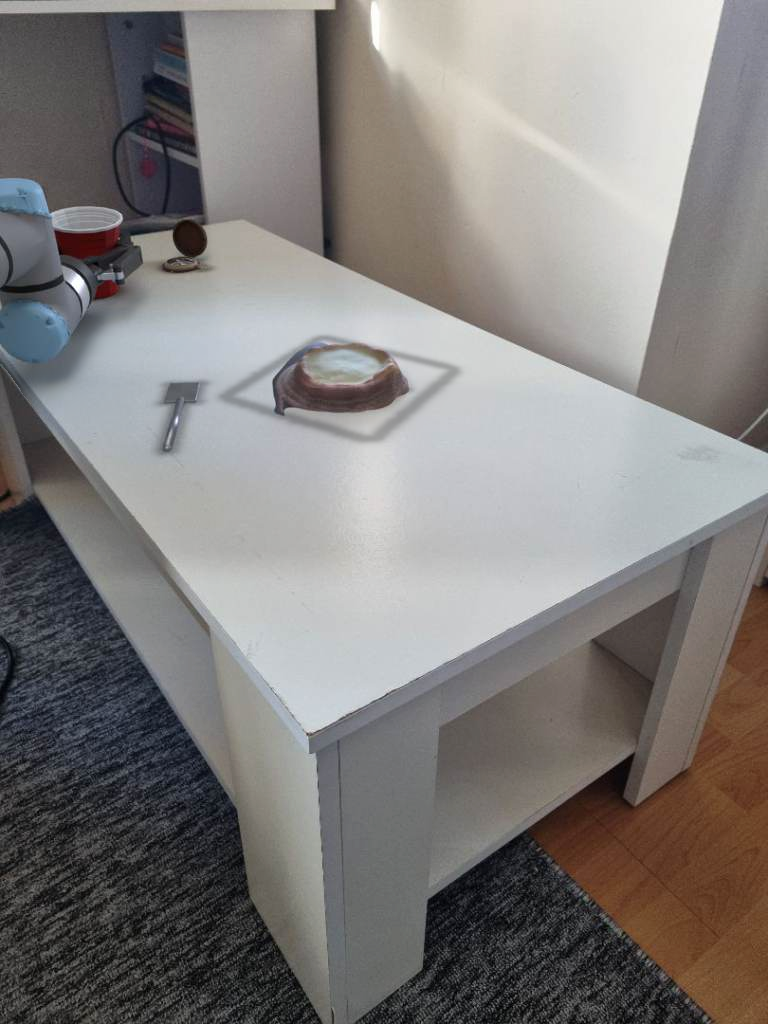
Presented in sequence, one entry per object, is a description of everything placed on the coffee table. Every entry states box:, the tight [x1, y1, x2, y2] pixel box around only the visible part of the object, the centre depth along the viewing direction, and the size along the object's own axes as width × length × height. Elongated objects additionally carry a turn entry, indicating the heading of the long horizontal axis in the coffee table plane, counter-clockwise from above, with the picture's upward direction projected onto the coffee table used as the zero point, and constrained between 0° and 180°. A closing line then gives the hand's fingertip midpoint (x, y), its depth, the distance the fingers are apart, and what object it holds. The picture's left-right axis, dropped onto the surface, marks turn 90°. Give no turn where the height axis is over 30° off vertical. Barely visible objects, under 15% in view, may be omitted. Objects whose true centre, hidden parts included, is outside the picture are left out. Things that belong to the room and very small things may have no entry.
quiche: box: [271, 342, 410, 417], centre depth 96 cm, size 21×20×4 cm
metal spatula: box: [161, 381, 201, 453], centre depth 90 cm, size 4×16×1 cm, turn 5°
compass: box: [161, 217, 210, 274], centre depth 132 cm, size 8×8×7 cm
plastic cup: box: [49, 205, 124, 300], centre depth 120 cm, size 11×11×12 cm
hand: (98, 240), depth 123 cm, fingers closed on plastic cup, 8 cm apart
